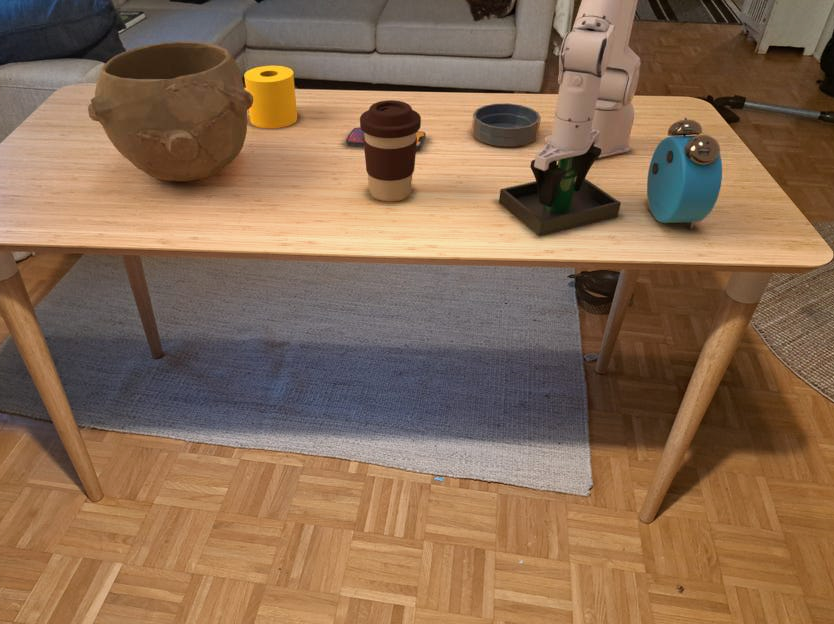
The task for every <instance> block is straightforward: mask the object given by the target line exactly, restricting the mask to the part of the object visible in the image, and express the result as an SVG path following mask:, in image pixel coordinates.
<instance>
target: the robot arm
mask: <svg viewBox="0 0 834 624" xmlns="http://www.w3.org/2000/svg"><path fill="white" fill-rule="evenodd" d="M638 2H639V0H581V2H580V5H579V7H578V11H577V14H576V16H575V20H574V23H573V26H572V29H571V31H567V32H566V33H565V35H564V36H563V40H562V43H561V47H560V51H559V58H558V77H557V78H558V79H557V84H559V88H558V93H557V98H556V99H557V100H556V106H555V112H554V118H553V124H552V131H551V134H549V135H547V136H545V138H544V142H545V143H546V144H545V146H544V147H543V149H542V150H541V151H540V152H539V153H537V154H536V155H535V158H534V159H533V160H531V161H530V170H531V171H532V174H533V176H534V179H535V181H536V182H537V188H538V196H539V203H540V204H542V205H545V206H547V207H551V206H552V204H553V202H554V200H555V196H556V192H557V189H558V186H559V184H560V182H561V180H562V178H563V176H564V175H565V174H566V172H567V170H564V169H561V168H559V167H558V166H559V165H558V160H560V159H564V158H569V157H573V161H572V167H573V168H574V171H576V173H577V178H576V183H575V188H574V191H576V192H577V191H579V189H580V188H581V186H582V184H583V181H584V179H586V177H587V175H588V174H589V172H590V170H591V168H592V166H593V164H594V163H595V162H596V160H598V159H600V158H606V157H610V156H614V155H619V154H623V153H624V154H625V153H628V152H630V151H631V149H630V148H629V147H628V145H629V143H630V142H629V141H630V137H631V133H632V129H633V126H634V125H633V124H634V120H635V108H634V106H633V103H632V101H633V99H634V97H635V93H636V91H637V87H638V82H639V78H640V68H641V63H642V62H641V58H640V56H639V55H638V54H637V53H636V52H634V51H633V50H632V48H631V47H630V46H629V42H630V38H631V35H632V28H633V25H634V20H635V16H636V11H637V6H638Z"/></svg>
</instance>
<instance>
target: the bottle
mask: <svg viewBox="0 0 834 624" xmlns="http://www.w3.org/2000/svg"><path fill="white" fill-rule="evenodd" d="M572 161H573V157H569V158H564V159H560V160H558V161H557V165H559V166H558V167H559V168H561V169H564V170H567V172H566V174H565V175H564V176H563V178H562V180H561V182H560V184H559V186H558V189H557V192H556V196H555V200H554V202H553V204H552V206H551V207H547V206H545V205H544V208H545V209H546V210H548V211H550V212H554V213H564V212H567V211H569V210H570V208H571V203H572V198H573V193H574V188H575V183H576V178H577V173H576V171H574V168H573V167H572Z"/></svg>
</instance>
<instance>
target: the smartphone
mask: <svg viewBox="0 0 834 624" xmlns="http://www.w3.org/2000/svg"><path fill="white" fill-rule="evenodd" d="M426 135H427V134H426V132H425V131H422V130H421V131H420V130H418V131H417V132H416V137H417V146H416V151H419V150H421V148H422V147H423V144H424V142H425V140H426V138H427V136H426ZM364 137H365V136H364V132H363V131H362V130H361V128H360V126H359V127H354V128H353V129H351V132H350V133H349V135H348V136H347V138H346V139H345V144H346V145H347V146H350V147H360V148H361V147H362V148H364Z"/></svg>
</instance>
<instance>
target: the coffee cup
mask: <svg viewBox="0 0 834 624" xmlns="http://www.w3.org/2000/svg"><path fill="white" fill-rule="evenodd" d="M421 122H422V117H421V115H420V113H418V111H416V110H413V108H412V106H411V105H410V104H409V103H407V102H405V101H401V100H393V99H391V100H390V99H389V100H381V101H377V102H375V103H372V104H371V105H370V106H369V108H368V110H366V111H364V112H363V113H362V114H361V115H360V117H359V127H360V128H361V130H362V131H363V132H364V136H365V137H364V147H363V149H364V161H365V170H366V173H367V179H368V190H369V194H370V195H371V196H372V197H373V198H374V199H376V200H378V201H383V202H398V201H401V200H404V199H407V197H409V195H410V194H411V192H412V183H413V174H414V172H415V166H416V156H417V150H416V146H417V137H416V132H417V131H420V129H421V126H422V123H421Z"/></svg>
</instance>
